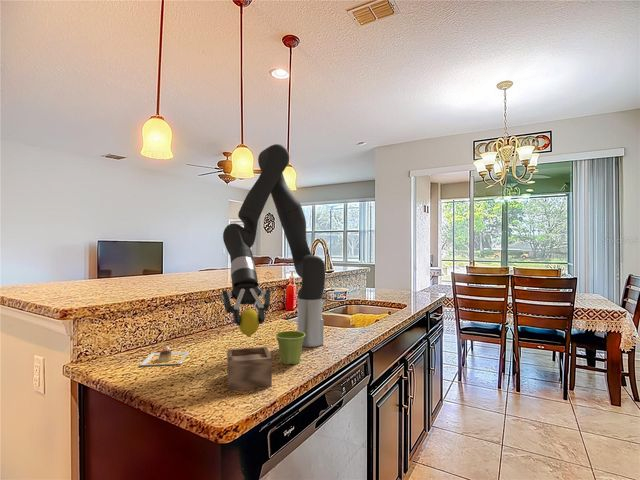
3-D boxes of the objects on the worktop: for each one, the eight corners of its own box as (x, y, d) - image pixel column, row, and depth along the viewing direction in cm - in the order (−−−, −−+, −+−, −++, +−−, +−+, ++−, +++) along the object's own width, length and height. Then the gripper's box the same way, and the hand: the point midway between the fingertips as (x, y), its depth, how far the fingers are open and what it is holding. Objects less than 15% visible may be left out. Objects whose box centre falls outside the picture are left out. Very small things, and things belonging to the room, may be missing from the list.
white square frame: (138, 368, 104) (139, 352, 104) (151, 356, 116) (151, 341, 116) (180, 367, 106) (181, 351, 106) (189, 354, 118) (189, 340, 118)
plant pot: (293, 369, 104) (293, 340, 104) (269, 363, 109) (269, 335, 109) (310, 360, 112) (311, 333, 112) (287, 355, 117) (287, 329, 117)
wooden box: (266, 372, 101) (266, 346, 102) (271, 387, 91) (272, 358, 91) (227, 375, 98) (227, 349, 98) (228, 391, 88) (228, 361, 88)
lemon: (240, 334, 98) (240, 306, 98) (259, 334, 98) (260, 305, 98) (237, 340, 92) (237, 309, 92) (258, 339, 92) (258, 309, 93)
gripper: (220, 267, 100) (223, 317, 88) (269, 266, 105) (278, 313, 94) (218, 283, 105) (221, 332, 93) (265, 282, 110) (273, 328, 98)
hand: (250, 322), depth 93 cm, fingers closed on lemon, 5 cm apart
